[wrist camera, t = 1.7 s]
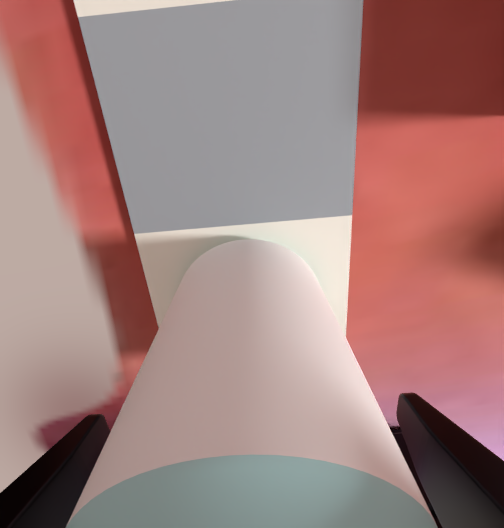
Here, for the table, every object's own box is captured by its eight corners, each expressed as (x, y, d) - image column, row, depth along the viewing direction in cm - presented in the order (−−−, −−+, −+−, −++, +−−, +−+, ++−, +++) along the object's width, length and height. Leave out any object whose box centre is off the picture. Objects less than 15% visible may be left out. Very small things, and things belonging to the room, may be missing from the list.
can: (153, 271, 14) (-179, 734, 3) (286, 209, 13) (493, 596, 2) (221, 371, 17) (167, 821, 6) (337, 326, 16) (550, 780, 5)
